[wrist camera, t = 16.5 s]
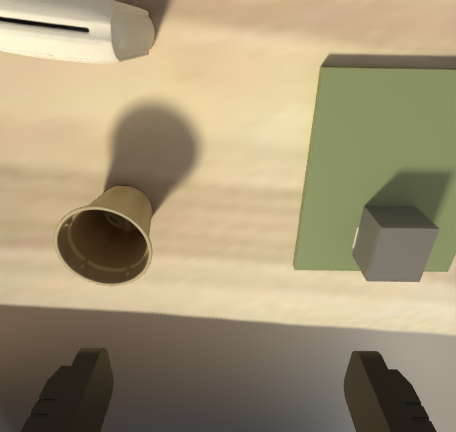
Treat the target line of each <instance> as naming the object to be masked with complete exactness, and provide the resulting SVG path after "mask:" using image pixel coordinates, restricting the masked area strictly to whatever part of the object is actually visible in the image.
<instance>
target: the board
mask: <svg viewBox="0 0 456 432" xmlns="http://www.w3.org/2000/svg"><path fill="white" fill-rule="evenodd" d="M364 206H406V207H416V208H417V209H419V210H420V211H421V212H422V213H423V214H424V215H425V216H426V217H427V218H428V219H430V220H431V221H432V222H433V223H434V224H435V225H436V226H437V227H438V228H439V229H440V230H439V232H438V235H437V237H436V240H435V243H434V245H433V248H432V251H431V253H430V256H429V258H428V261H427V264H426V266H425V269H424V271H432V272H448V270H449V268H450V266H451V263H452V261H453V259H454V256H455V254H456V69H428V68H370V67H320V74H319V81H318V88H317V95H316V103H315V110H314V117H313V124H312V132H311V139H310V146H309V153H308V161H307V168H306V175H305V182H304V190H303V197H302V204H301V211H300V218H299V226H298V233H297V240H296V247H295V255H294V262H293V266H294V269H295V270H340V271H361V270H360V268H359V267H358V265H357V263H356V261H355V260H354V258H353V256H352V254H353V249H354V245H355V241H356V237H357V233H358V229H359V225H360V221H361V216H362V212H363V208H364Z"/></svg>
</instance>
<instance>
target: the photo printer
mask: <svg viewBox="0 0 456 432" xmlns="http://www.w3.org/2000/svg"><path fill="white" fill-rule="evenodd" d="M154 38H155V30H154V26H153V23H152V21H151V19H150V18H149V12H148V11H146V10H144V9H142V8H139V7H136V6H132V5H129V4H125V3H122V2H118V1H115V0H0V51H4V52H9V53H14V54H19V55H25V56H32V57H38V58H46V59H54V60H63V61H73V62H85V63H116V62H122V61H126V60H130V59H134V58H139V57H143V56H146V55H148V54H149V49H150V48H151V46H152V45H153V42H154Z"/></svg>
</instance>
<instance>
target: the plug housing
mask: <svg viewBox="0 0 456 432" xmlns="http://www.w3.org/2000/svg"><path fill="white" fill-rule="evenodd" d="M439 230H440V229H439V228H438V227H437V226H436V225H435V224H434V223H433V222H432V221H431V220H430V219H428V218H427V217H426V216H425V215H424V214H423V213H422V212H421V211H420V210H419V209H417V208H416V207H406V206H364V208H363V212H362V216H361V221H360V225H359V229H358V233H357V237H356V241H355V245H354V249H353V254H352V256H353V258H354V260H355V261H356V263H357V265H358V267H359V268H360V270H361V272H362V274H363V275H364V277H365V279H366V281H390V282H420V279H421V277H422V274H423V272H424V269H425V266H426V264H427V261H428V258H429V256H430V253H431V251H432V248H433V245H434V243H435V240H436V237H437V235H438V232H439Z"/></svg>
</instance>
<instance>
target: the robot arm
mask: <svg viewBox="0 0 456 432" xmlns="http://www.w3.org/2000/svg"><path fill="white" fill-rule="evenodd" d="M113 384H114V379H113V373H112V369H111V365H110V360H109V356H108V352H107V349H106V348H81V349H80V350H79V351H78V353H77V355H76V357H75V359H74V361H73V363H72V365H71V366H61V367H60V368H59V369H58V370H57V371H56V372H55V373H54V374H53V375H52V376H51V377H50V378H49V380H48V381H47V382H46V384H45V386H44V388H43V390H42V392H41V394H40V396H39V397H38V401H37V402H36V403H35V405H34V407H33V409H32V411H31V413H30V417H29V418H28V419H27V421H26V422H25V424H24V426H23V429H22V430H21V432H101V429H102V425H103V422H104V419H105V416H106V413H107V410H108V406H109V403H110V400H111V397H112V393H113ZM344 393H345V398H346V402H347V405H348V408H349V411H350V414H351V417H352V420H353V423H354V426H355V429H356V432H436V430H435V428H434V426H433V424H432V422H431V421H429V417H428V415H427V413H426V411H425V409H424V407H423V406H422V405H421V402H420V400H419V398H418V396H417V394H416V392H415V390H414V388H413V386H412V385H411V384H410V383H409V382H408V381H407V379H406V378H405V377H404V376H403V375H402V374H401V373H400V372H399V371H398V370H393V369H388V368H387V366H386V364H385V362H384V360H383V358H382V356H381V354H380V353H379V352H377V351H353V352H352V355H351V358H350V362H349V365H348V368H347V372H346V375H345V379H344Z"/></svg>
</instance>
